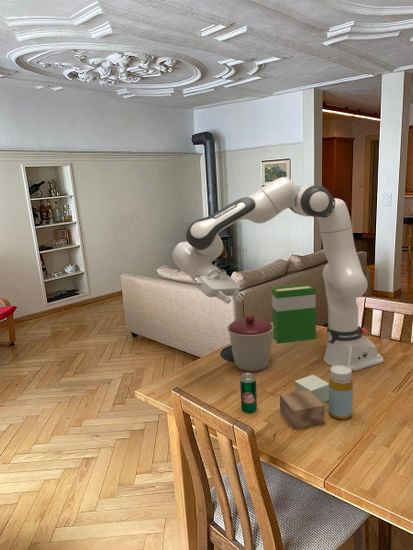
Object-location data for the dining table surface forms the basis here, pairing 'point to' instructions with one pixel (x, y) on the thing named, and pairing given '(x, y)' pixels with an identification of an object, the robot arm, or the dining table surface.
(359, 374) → the dining table surface
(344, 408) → the bottle
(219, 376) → the dining table surface
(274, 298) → the green cereal box
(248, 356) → the canister
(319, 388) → the sage block
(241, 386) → the soda can
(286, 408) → the walnut block
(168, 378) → the dining table surface
